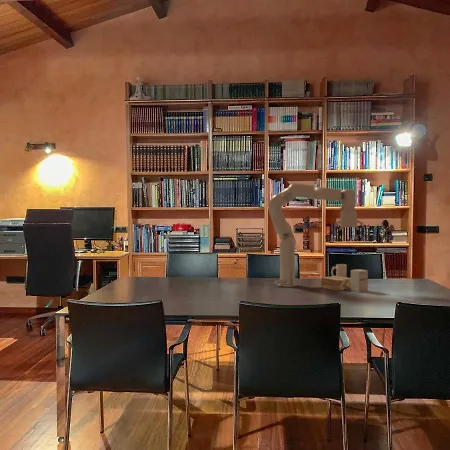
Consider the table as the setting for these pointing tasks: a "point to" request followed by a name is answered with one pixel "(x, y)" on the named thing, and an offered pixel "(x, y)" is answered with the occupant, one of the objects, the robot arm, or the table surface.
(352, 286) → the supplement box
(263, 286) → the table surface
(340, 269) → the mug
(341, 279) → the birch block
